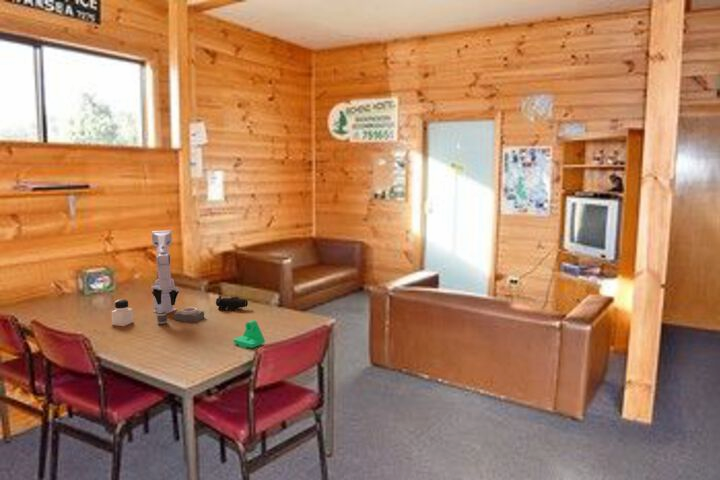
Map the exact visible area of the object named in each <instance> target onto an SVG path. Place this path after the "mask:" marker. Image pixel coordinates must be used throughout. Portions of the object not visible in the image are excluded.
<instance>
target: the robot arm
mask: <svg viewBox="0 0 720 480" xmlns="http://www.w3.org/2000/svg"><path fill="white" fill-rule="evenodd" d="M151 238H152V239H151V242H152V245H153V247H156V256H155V258H156V266H157V267H156V268H157V273H158V278H157V279H156V280H155V281H154V283H155V284H154V285H151V287H150V288H151V289H150V290H151V293H152V295H153V309H154V310H153V313H157V312H159V311H166V313H167V314H170V313H173V312H175V311H178V308H174V306H176V301H177V297H178V294H179V292H180V286H175V280H174V279H173V278H172V275H171V265H172V261H171V254H170V249H169V247H170V246H171V245H172V241H173V236H172V230H171V229H169V230H152V231H151Z"/></svg>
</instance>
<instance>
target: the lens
mask: <svg viewBox="0 0 720 480" xmlns="http://www.w3.org/2000/svg"><path fill="white" fill-rule="evenodd" d="M167 314H168V313H166V311H159V312H156V321H157V323H156V324H157V326H165V325H167V324H168V317H167Z"/></svg>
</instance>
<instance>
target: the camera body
mask: <svg viewBox="0 0 720 480" xmlns="http://www.w3.org/2000/svg"><path fill="white" fill-rule="evenodd" d="M202 319H205V311H203V310H198V308H197V307H192V306H191V307H184V308H182V309H180V311H178V312H175V313H174V321H177V322H178V321H179V322H189V323H197V322H198V321H201V320H202Z"/></svg>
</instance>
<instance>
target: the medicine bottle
mask: <svg viewBox="0 0 720 480" xmlns="http://www.w3.org/2000/svg"><path fill="white" fill-rule="evenodd" d="M132 323H134V309H133V308H130V307H129V301H128V300H127V299H117V300H116V301H114V310H111V325H112V326H118V327H126V326H127V325H131V324H132Z"/></svg>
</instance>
